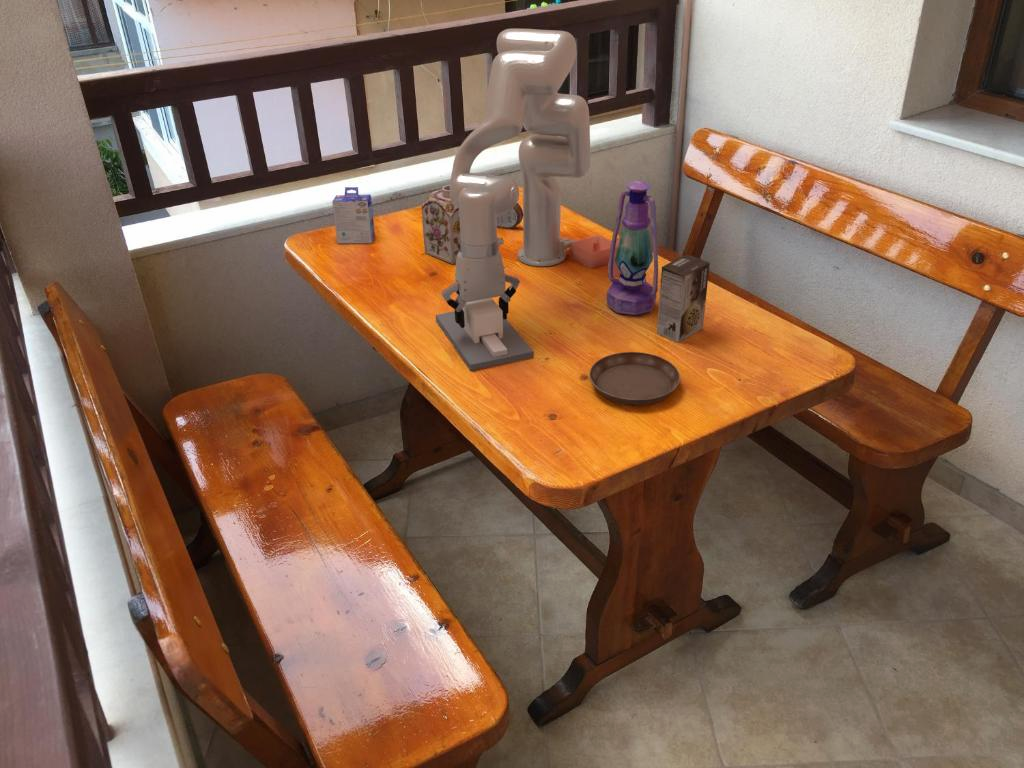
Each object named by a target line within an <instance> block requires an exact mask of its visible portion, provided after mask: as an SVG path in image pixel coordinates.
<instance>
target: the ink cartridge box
mask: <svg viewBox="0 0 1024 768" xmlns="http://www.w3.org/2000/svg"><path fill="white" fill-rule="evenodd" d="M348 191H354V192H348ZM331 203H332V211H333V218H334V219H333V220H334V226H335V233H336V234H335V235H336V243H337V244H373V242H374V240H375V239H376V231H375V222H374V221H375V220H374V212H373V202H372V195H371V194H360V193H359V187H357V186H352V187H351V186H347V187H346V186H345V187H344V195H335V196H334V199H332V201H331Z"/></svg>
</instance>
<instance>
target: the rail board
mask: <svg viewBox="0 0 1024 768" xmlns="http://www.w3.org/2000/svg"><path fill="white" fill-rule="evenodd" d="M435 322H436V323H437V325H439V327H440V329H441V331H442V332H443V333H444V335H445V336H446V338H447V339H448V340H449V342H450V343H451V345H452V346H453V348H454V349H455V350H456V352H457V353H458V355H459V356H460V358H461V359H462V361H463V362H464V364H465V365H466V366H467V368H468V369H469V371H470V372H472V371H477V370H482V369H487V368H491V367H496V366H500V365H505V364H510V363H515V362H520V361H524V360H528V359H533V358H534V350H533V349H532V348H531V346H530V345H529V343H527V341H526V340H525V339H524V338H523V337H522V336H521V335H520V333H519V332H518V331H517V330H516V329H515V328H514V326H513V325H512V324H511V323H510V321H509V320H508V318H507V319H505V320H504V319H503V338H498V337H497V336H496V334H495V333H493V334H488V335H483V336H479V343H474V341H473V340H472V339H471V337H470V336H469V334H468V333H467V332H466V330H465V329H464V328H461V327H460V325H459V324H458V323H456V321H455V310H453V311H447V312H443V313H437V314H435Z"/></svg>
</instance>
